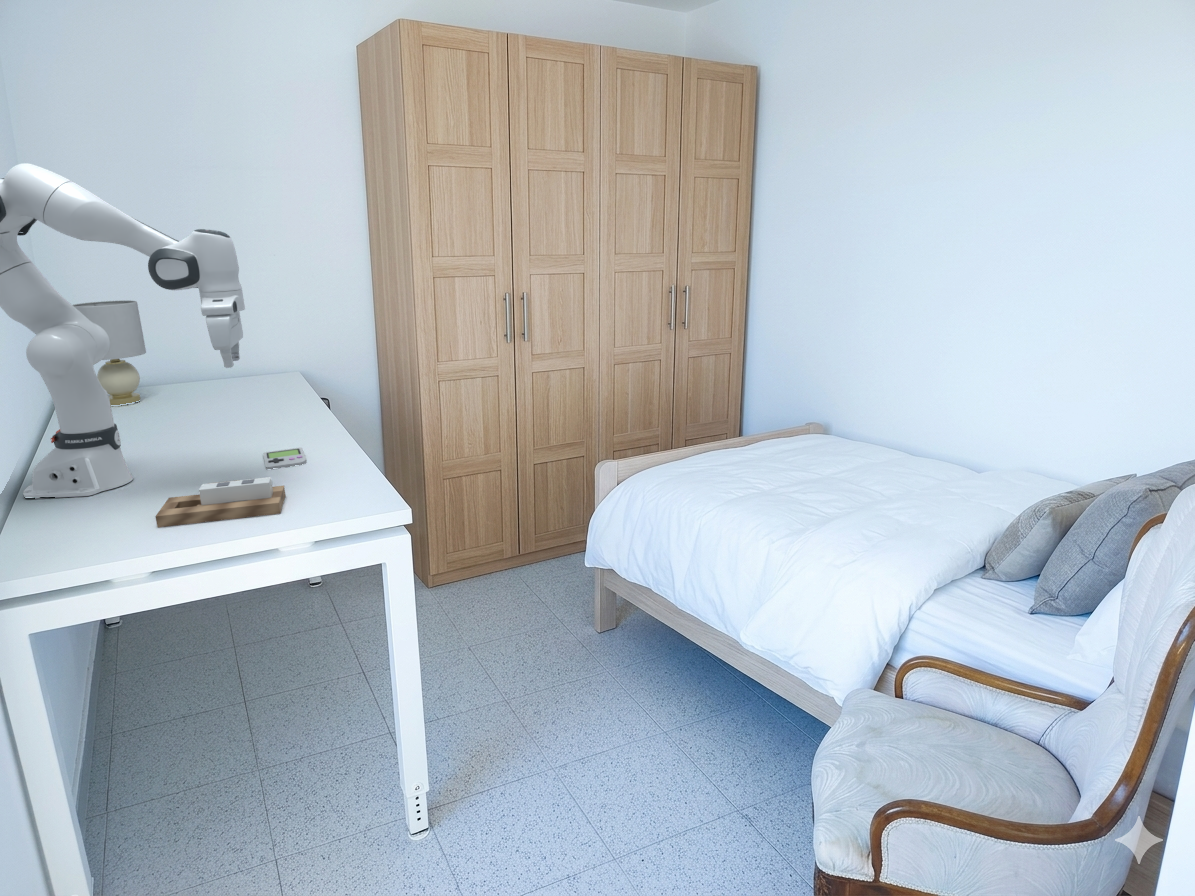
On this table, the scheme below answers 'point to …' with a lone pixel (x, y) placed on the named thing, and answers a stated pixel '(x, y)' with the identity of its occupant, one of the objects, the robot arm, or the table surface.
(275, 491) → the keyhole board
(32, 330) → the robot arm
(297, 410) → the table surface
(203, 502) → the power strip
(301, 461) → the handheld gaming console
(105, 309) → the lamp
